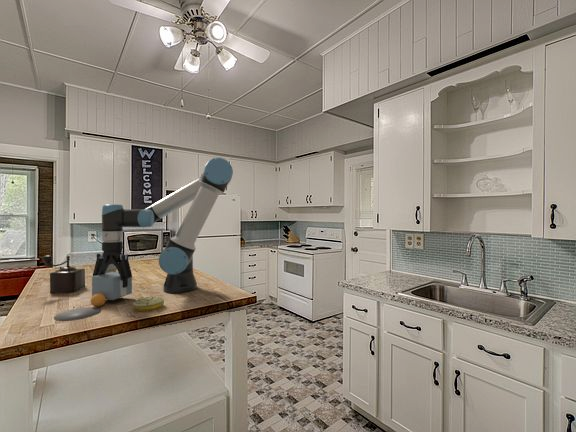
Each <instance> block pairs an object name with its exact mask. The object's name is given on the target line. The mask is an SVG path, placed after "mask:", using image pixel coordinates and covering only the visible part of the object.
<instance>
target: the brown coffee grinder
mask: <svg viewBox="0 0 576 432" xmlns="http://www.w3.org/2000/svg"><path fill="white" fill-rule="evenodd" d="M53 259H54V258H53V256H52V255H49V254H48V255H43V257H42V258H41V261H42V262H43V263H44V267H59V269H57V270H55V271H52V272H50V273H49V294H69V293H70V294H71V293H75V292H78V291H80V290H83V289H84V288H86V269H85V268H76V267H74V266H70V260H71V256H70V255H67V256H66V260H64V261H63V262H60V263H57V264H53V262H52V261H53ZM65 264H66V266H63V267H62V265H65Z"/></svg>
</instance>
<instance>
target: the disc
mask: <svg viewBox="0 0 576 432" xmlns="http://www.w3.org/2000/svg"><path fill="white" fill-rule="evenodd" d="M101 311H102V310H101V308H100V307H96V306H93V307H92V306H90V307H89V306H88V307H87V306H86V307H78V308H74V309H73V308H72V309H68V310H65V311H62V312H59V313H57V314H55V315H54V316H53V320H56V321H59V322H60V321H61V322H62V321H63V322H65V321H66V322H67V321H68V322H69V321H75V320H82V319H86V318H87V319H88V318H89V317H93V316H96V315H97V314H100V313H101Z"/></svg>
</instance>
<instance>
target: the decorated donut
mask: <svg viewBox="0 0 576 432" xmlns="http://www.w3.org/2000/svg"><path fill="white" fill-rule="evenodd" d="M164 303H165V300H164V298H163V297H160V296H147V297H141V298H139V299H136V300H135V301H134V302H133V303H132V306H133V309H134V310H135V311H137V312H140V313H145V312H146V313H147V312H154V311H157V310H160V309H161V308H162V307H163V306H164Z"/></svg>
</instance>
